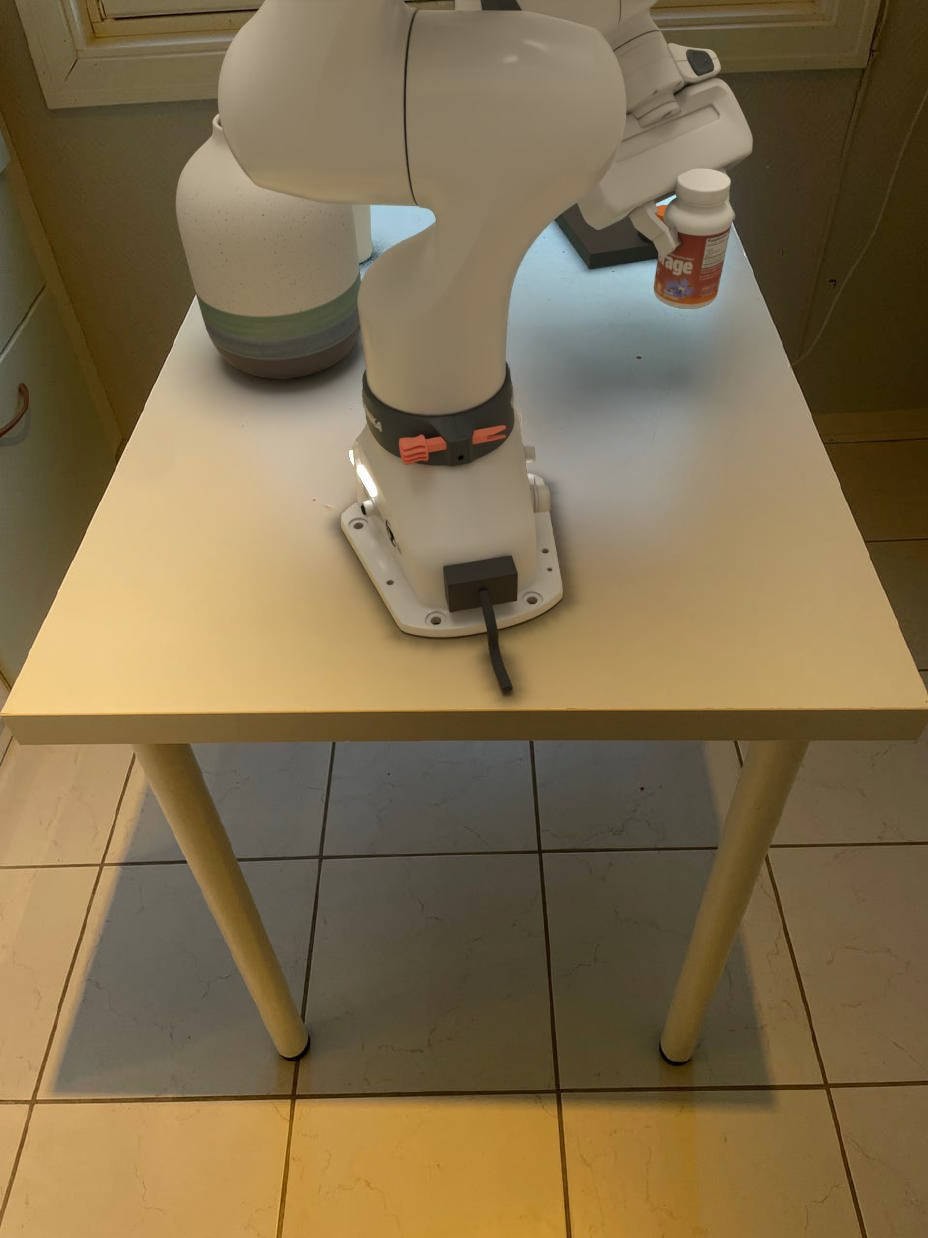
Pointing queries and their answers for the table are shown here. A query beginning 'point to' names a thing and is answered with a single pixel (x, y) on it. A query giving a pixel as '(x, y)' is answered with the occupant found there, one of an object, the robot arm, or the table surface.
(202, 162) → the vase
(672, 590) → the table surface
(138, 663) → the table surface
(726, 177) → the pill bottle
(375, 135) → the robot arm
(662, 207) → the button
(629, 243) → the scale
